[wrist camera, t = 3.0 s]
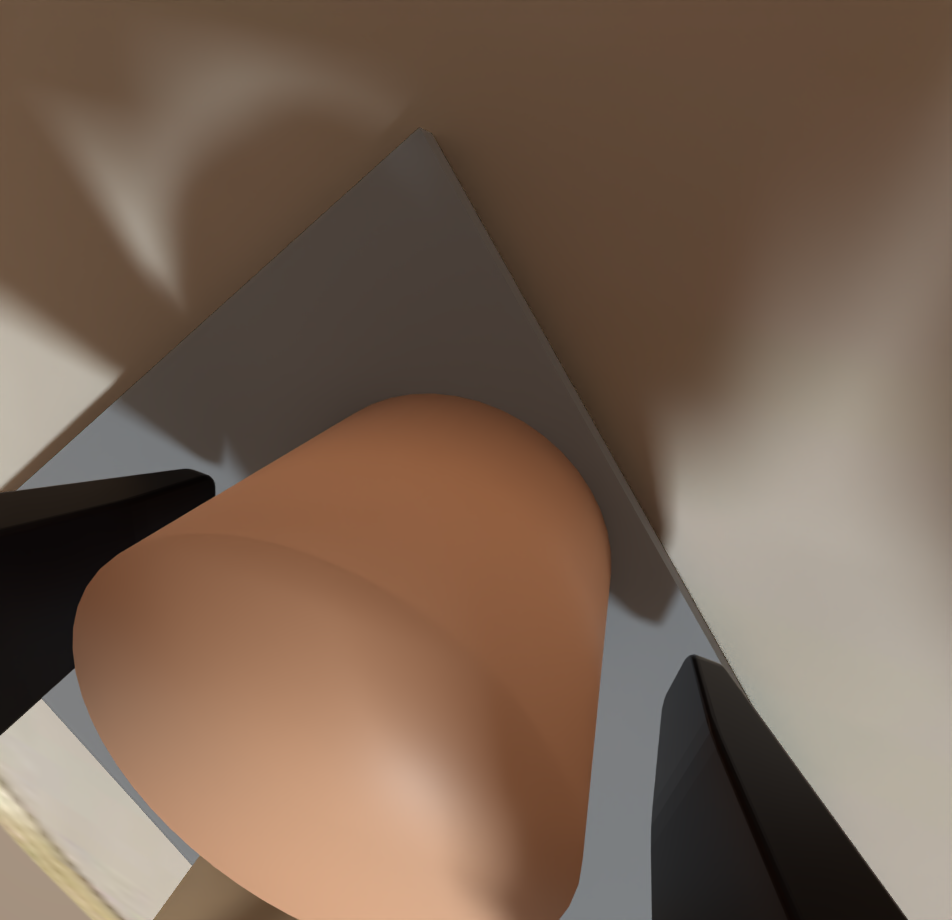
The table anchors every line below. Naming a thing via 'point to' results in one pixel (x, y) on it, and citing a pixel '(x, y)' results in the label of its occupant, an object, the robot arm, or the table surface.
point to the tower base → (215, 899)
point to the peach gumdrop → (368, 669)
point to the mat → (397, 374)
